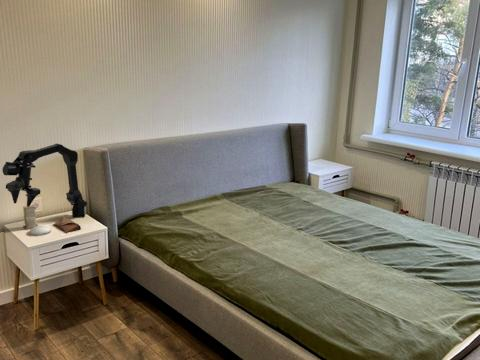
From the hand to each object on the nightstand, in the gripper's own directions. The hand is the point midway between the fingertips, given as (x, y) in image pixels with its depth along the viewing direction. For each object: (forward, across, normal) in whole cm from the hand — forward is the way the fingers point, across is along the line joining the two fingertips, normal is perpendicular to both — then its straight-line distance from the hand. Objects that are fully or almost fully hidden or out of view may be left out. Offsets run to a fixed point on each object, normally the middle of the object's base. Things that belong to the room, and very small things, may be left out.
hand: (21, 205), depth 240 cm
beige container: (+14, -1, +9) cm, 16 cm away
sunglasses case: (+12, +15, +18) cm, 26 cm away
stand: (+14, +9, +6) cm, 17 cm away
